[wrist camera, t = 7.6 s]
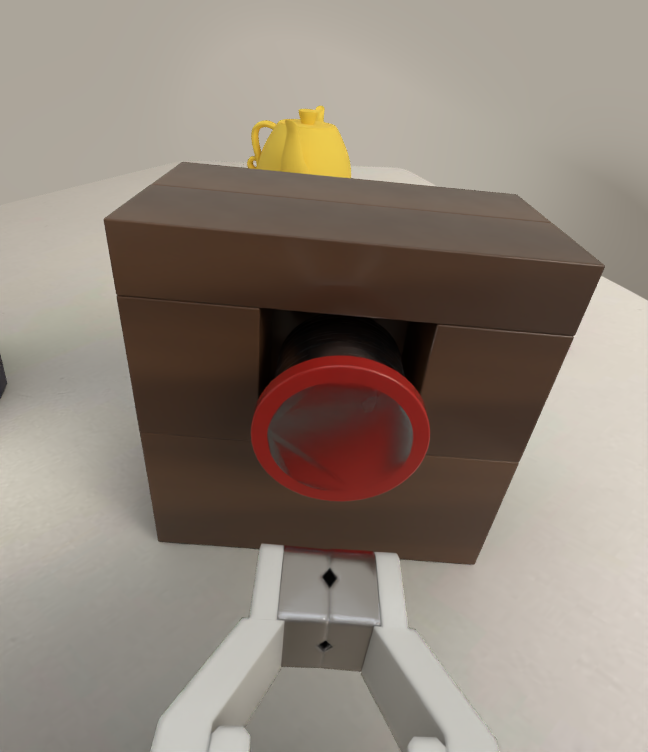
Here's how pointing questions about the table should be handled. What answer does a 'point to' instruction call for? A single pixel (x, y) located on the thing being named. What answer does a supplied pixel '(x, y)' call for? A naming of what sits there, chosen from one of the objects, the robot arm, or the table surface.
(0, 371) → the speaker
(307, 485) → the knob
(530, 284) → the control box
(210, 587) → the table surface
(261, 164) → the teapot
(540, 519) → the table surface
